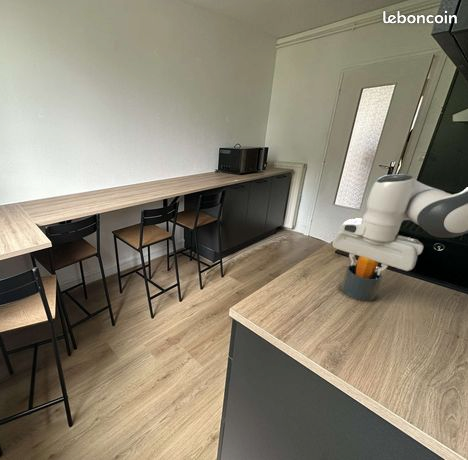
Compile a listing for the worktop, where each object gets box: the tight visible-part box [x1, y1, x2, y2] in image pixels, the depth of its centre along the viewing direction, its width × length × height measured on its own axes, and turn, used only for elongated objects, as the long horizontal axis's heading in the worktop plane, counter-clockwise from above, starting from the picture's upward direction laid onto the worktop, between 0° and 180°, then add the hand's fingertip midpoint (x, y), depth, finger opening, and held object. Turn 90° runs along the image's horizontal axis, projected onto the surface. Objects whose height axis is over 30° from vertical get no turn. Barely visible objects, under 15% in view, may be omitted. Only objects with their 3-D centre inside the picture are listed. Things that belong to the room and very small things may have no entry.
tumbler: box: [340, 264, 383, 302], centre depth 82 cm, size 9×9×8 cm
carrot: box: [356, 256, 380, 279], centre depth 79 cm, size 5×5×15 cm
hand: (365, 269), depth 80 cm, fingers closed on carrot, 5 cm apart
